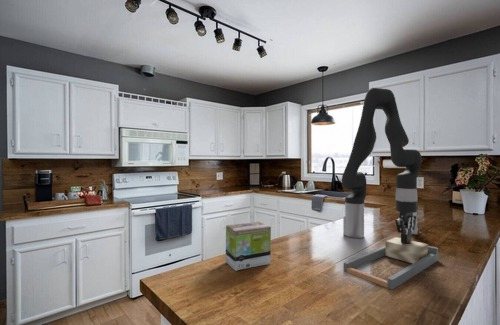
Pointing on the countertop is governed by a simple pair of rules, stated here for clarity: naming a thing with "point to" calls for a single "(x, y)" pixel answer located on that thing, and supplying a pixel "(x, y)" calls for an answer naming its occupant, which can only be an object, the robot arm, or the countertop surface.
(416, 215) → the candy bar box
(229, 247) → the tea box
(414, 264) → the frame
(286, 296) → the countertop surface
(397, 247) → the beige block
